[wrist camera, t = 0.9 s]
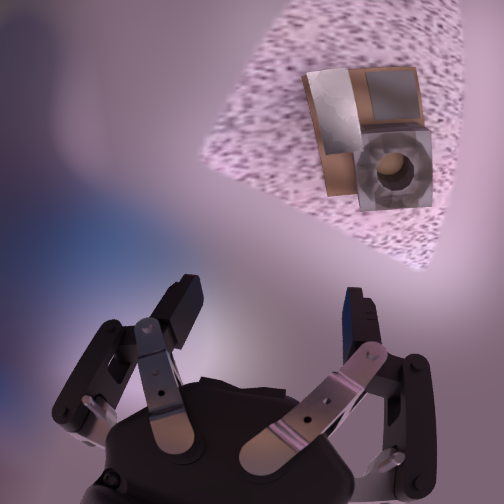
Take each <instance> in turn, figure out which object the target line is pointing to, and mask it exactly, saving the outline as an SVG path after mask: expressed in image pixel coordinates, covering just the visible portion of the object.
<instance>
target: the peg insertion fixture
mask: <svg viewBox="0 0 504 504" xmlns="http://www.w3.org/2000/svg"><path fill="white" fill-rule="evenodd" d="M348 72H349V76H350V81H351V85H352V89H353V94H354V98H355V103H356V108H357V113H358V119H359V124H360V130H361V136H362V143H363V149H364V151H359V152H349V153H340V154H331V155H325V149H324V145H323V140H322V135H321V130H320V126H319V121H318V117H317V113H316V108H315V104H314V100H313V96H312V92H311V88H310V85H309V81H308V77H307V76H301V77H302V81H303V85H304V88H305V92H306V96H307V100H308V104H309V108H310V112H311V116H312V120H313V125H314V129H315V133H316V138H317V143H318V147H319V152H320V157H321V162H322V167H323V173H324V178H325V184H326V190H327V195H328V197H329V196H339V195H350V194H357V195H358V200H359V206H360V211H361V212H364V211H376V210H389V209H402V208H417V207H432V190H433V168H432V143H431V131H430V130H429V129H427V128H426V127H425V126H424V116H423V108H422V101H421V94H420V88H419V83H418V77H417V72H416V67H380V68H364V69H352V70H348Z"/></svg>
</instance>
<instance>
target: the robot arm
mask: <svg viewBox="0 0 504 504" xmlns="http://www.w3.org/2000/svg"><path fill="white" fill-rule="evenodd" d="M203 301H204V296H203V291H202V287H201V283H200V278H199V276H198V275H192V274H185V275H184V276H183V277H182V279H181V280H180V282H175V283H174V284H173V285H172V286H170V287H169V288H168V289H167V291H166V293H165V295H164V296H163V297H162V300H160V302H159V303H158V305H157V306H156V308H155V309H154V311H153V313H152V314H151V316H150V317H147V318H143V319H141V320H140V321H138V322H137V323H136V325H135V326H122V325H121V323H120V322H119V321H118V320H115V319H112V320H108V321H106V322H104V323H103V324H102V325H101V327H100V328H99V330H98V331H97V333H96V334H95V336H94V337H93V339H92V341H91V342H90V344H89V345H88V347H87V349H86V350H85V352H84V354H83V355H82V357H81V358H80V360H79V362H78V363H77V365H76V367H75V368H74V370H73V372H72V373H71V375H70V377H69V379H68V380H67V382H66V384H65V386H64V388H63V389H62V391H61V393H60V395H59V396H58V398H57V400H56V402H55V404H54V406H53V408H52V417H53V420H54V421H55V422H56V423H58V424H59V425H60V426H61V427H63V428H64V429H65V430H66V431H67V432H68V433H70V434H71V435H72V436H74V437H75V438H77V439H78V440H81V441H82V442H84V443H85V444H87V445H88V446H98V447H100V448H103V449H105V451H106V462H105V469H104V471H103V473H102V475H101V476H100V477H99V479H98V480H97V481H96V482H94V483H93V484H92V485H91V486H90V487H89V488H88V489H87V490H86V492H85V494H84V496H83V498H82V500H81V503H80V504H374V503H380V504H404V503H408V502H411V501H415V500H418V499H421V498H424V497H426V496H427V495H428V494H430V493H431V492H432V490H433V489H434V487H435V484H436V473H437V472H436V471H437V436H436V417H435V405H434V395H433V387H432V379H431V372H430V365H429V363H428V361H427V359H426V358H425V357H423V356H422V355H419V354H410V355H408V356H407V357H406V358H405V359H404V358H400V357H397V356H393V355H391V354H389V353H388V352H387V350H386V348H385V347H384V346H383V345H382V342H381V336H380V330H379V323H378V317H377V312H376V306H375V304H374V302H373V301H372V300H371V298H363V293H362V288H357V287H348V288H347V291H346V296H345V301H344V306H343V311H342V335H343V366H342V367H341V368H340V369H339V370H338V371H337V372H332V373H331V374H330V375H329V376H328V377H327V378H325V379H324V381H322V382H321V384H319V385H318V386H317V387H316V388H315V389H314V390H313V391H312V392H311V393H310V394H309V395H308V396H307V397H305V398H304V399H303V400H302V401H301V402H299V401H297V400H295V399H294V398H292V397H289V396H286V390H285V389H276V388H268V387H259V388H246V389H241V388H238V387H235V386H233V385H231V384H228V383H226V382H224V381H221V380H217V379H212V378H207V377H201V379H200V381H199V382H194V383H189V384H185V385H183V382H182V380H181V377H180V374H179V372H178V369H177V366H176V363H175V360H174V357H173V354H172V351H173V349H174V348H176V349H180V350H181V349H182V347H183V345H184V343H185V341H186V339H187V337H188V335H189V333H190V331H191V329H192V326H193V324H194V322H195V320H196V318H197V316H198V314H199V312H200V310H201V308H202V306H203ZM113 355H114V357H113ZM112 357H113V358H112ZM111 358H112V360H111ZM110 360H111V362H110ZM109 362H110V364H109ZM137 363H138V368H139V372H140V377H141V381H142V386H143V390H144V394H145V398H146V402H147V407H145V408H143V409H142V410H140V411H138V412H136V413H135V414H133V415H131V416H129V417H128V418H126V419H124V420H122V421H120V422H119V423H117V422H116V420H117V414H116V412H115V409H116V407H117V405H118V403H119V400H120V398H121V396H122V394H123V391H124V389H125V388H126V385H127V383H128V381H129V379H130V377H131V375H132V373H133V371H134V369H135V366H136V364H137ZM108 364H109V366H108ZM367 393H371V394H374V395H377V396H381V397H384V434H383V450H382V452H381V453H380V454H379V455H377V456H376V457H375V458H373V459H372V460H371V461H370V462H369V464H368V466H367V470H366V472H365V474H364V475H363V476H362V477H361V478H354V476H353V474H352V472H351V470H350V469H349V467H348V466H347V465H346V464H345V462H344V461H343V459H342V458H341V456H340V455H339V454H338V452H337V451H336V450H335V448H334V447H333V445H332V444H331V443H330V441H329V440H328V438H329V437H330V436H331V435H332V434H333V433H334V432H335V431H336V430H337V429H338V427H339V426H340V425H341V424H342V423H343V422H344V420H345V419H346V418H347V417H348V415H349V414H350V413H351V412H352V411H353V410H354V409H355V407H356V406H357V405H358V404H359V403H360V402H361V400H362V399H363V398H364V397H365V396H366V394H367Z"/></svg>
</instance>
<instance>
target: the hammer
mask: <svg viewBox="0 0 504 504" xmlns="http://www.w3.org/2000/svg"><path fill="white" fill-rule="evenodd" d="M306 74H307V77H308V81H309V85H310V88H311V92H312V96H313V100H314V104H315V108H316V113H317V117H318V121H319V126H320V130H321V135H322V140H323V145H324V149H325V155H331V154H340V153H349V152H359V151H364V149H363V143H362V136H361V130H360V124H359V119H358V113H357V108H356V103H355V98H354V94H353V89H352V85H351V81H350V76H349V72H348V68H347V67H343V68H335V69H327V70H320V71H314V72H307V73H306Z"/></svg>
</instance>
